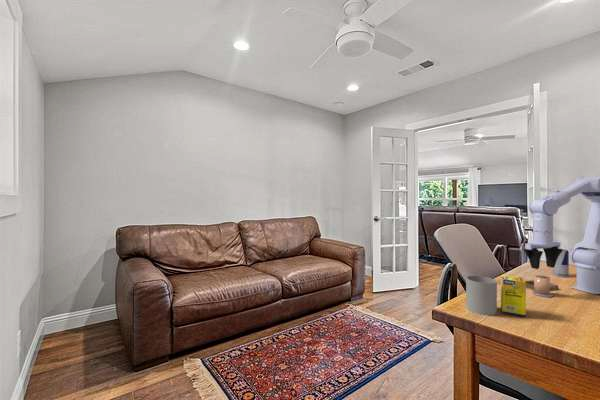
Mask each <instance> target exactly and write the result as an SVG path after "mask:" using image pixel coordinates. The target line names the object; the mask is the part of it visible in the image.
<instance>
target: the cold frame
mask: <svg viewBox="0 0 600 400" xmlns="http://www.w3.org/2000/svg"><path fill="white" fill-rule="evenodd" d="M525 282H526V289H529V290H531V291H534V279H531V280H525ZM556 290H559V285H558V284H554V283H551V282H550V291H556Z"/></svg>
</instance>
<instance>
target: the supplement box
mask: <svg viewBox="0 0 600 400" xmlns="http://www.w3.org/2000/svg"><path fill="white" fill-rule="evenodd" d="M525 281H526V280H525V278H524V277H523V276H515V275H514V276H513V275H506V274H501V275H500V309H501V314H504V315H509V316H515V317H520V318H526V317H527V316H526V312H527V311H526V310H527V304H526V302H527V299H526V297H527V296H526V292H527V290H526V289H527V288H526V282H525Z"/></svg>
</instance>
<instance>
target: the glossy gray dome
mask: <svg viewBox="0 0 600 400" xmlns="http://www.w3.org/2000/svg"><path fill="white" fill-rule="evenodd" d="M531 292H532V293H531V294H533V295H535V296H538V297H541V298H554V297H555V295H554V294H553V293H551V292H550V295H541V294H537V293H535V292H534V290H531Z"/></svg>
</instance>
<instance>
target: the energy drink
mask: <svg viewBox="0 0 600 400" xmlns="http://www.w3.org/2000/svg"><path fill="white" fill-rule="evenodd" d="M561 249H562V252H561V254H560V255H559V257H558V259H557V261H556V264H555V267H554V268H552V276H555V277H558V278H559V277H561V278H568V277H569V276H570V275H569V274H570V273H569V271H570V267H569V264H570V262H569V261H570V260H569V258H570V257H569V256H570V252H569V249H566V248H561Z"/></svg>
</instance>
